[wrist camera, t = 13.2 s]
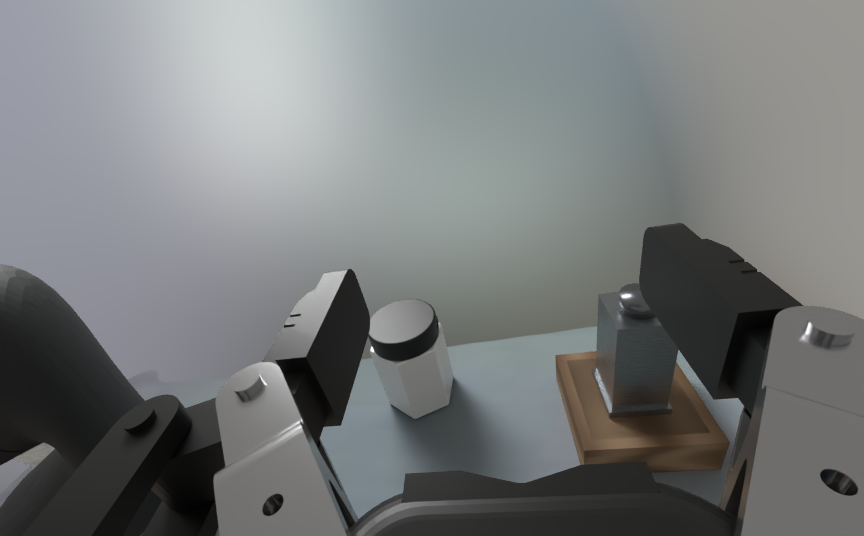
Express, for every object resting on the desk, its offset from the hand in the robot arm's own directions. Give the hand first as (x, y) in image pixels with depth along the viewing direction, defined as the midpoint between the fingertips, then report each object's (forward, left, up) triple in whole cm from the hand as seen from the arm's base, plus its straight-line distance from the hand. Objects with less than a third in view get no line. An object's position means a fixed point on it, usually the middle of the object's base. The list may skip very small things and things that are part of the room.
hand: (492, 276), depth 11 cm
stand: (+12, +18, -32) cm, 39 cm away
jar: (-11, +24, -32) cm, 42 cm away
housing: (+12, +18, -28) cm, 35 cm away
